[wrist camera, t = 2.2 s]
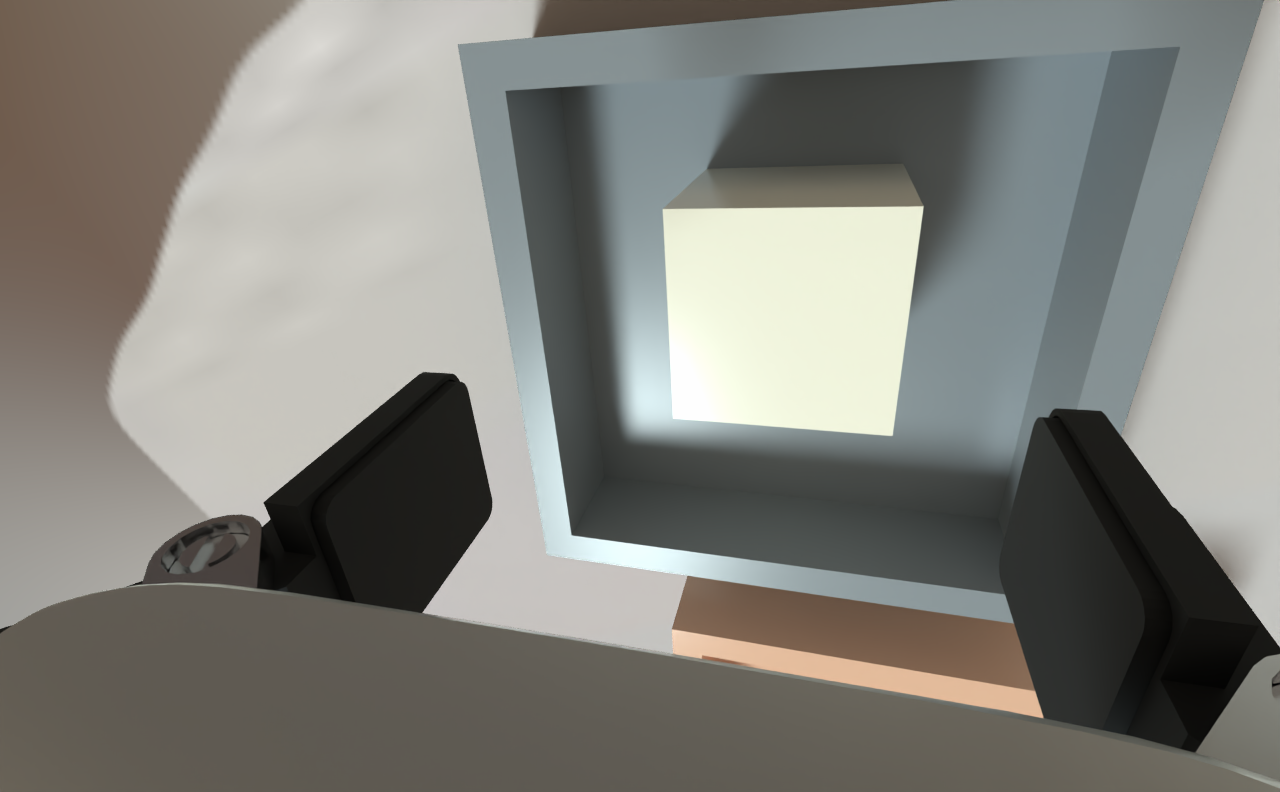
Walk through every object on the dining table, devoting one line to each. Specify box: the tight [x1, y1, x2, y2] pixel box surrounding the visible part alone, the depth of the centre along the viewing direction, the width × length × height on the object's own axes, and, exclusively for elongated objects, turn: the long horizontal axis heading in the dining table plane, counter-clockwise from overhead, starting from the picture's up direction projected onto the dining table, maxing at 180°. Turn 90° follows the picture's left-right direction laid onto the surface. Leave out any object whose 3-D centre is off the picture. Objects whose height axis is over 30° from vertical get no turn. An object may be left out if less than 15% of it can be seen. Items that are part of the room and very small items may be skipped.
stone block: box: [663, 164, 924, 436], centre depth 19 cm, size 6×6×6 cm
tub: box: [672, 576, 1043, 718], centre depth 30 cm, size 18×18×5 cm
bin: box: [458, 0, 1264, 624], centre depth 21 cm, size 18×18×5 cm
